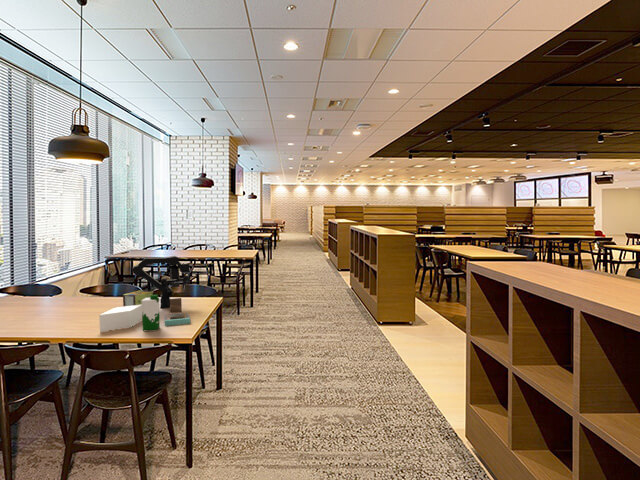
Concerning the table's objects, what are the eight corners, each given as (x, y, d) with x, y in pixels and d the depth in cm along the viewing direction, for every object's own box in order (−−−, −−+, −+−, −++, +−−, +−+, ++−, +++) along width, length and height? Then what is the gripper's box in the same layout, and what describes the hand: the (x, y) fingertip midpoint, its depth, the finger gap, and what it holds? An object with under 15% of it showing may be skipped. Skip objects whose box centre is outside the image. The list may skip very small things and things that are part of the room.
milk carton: (156, 331, 227) (155, 296, 225) (140, 331, 226) (139, 297, 224) (161, 326, 235) (160, 293, 234) (145, 326, 235) (144, 293, 233)
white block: (151, 321, 246) (151, 305, 246) (108, 334, 221) (107, 316, 220) (135, 318, 253) (135, 302, 252) (92, 330, 227) (91, 313, 227)
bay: (164, 319, 251) (164, 314, 250) (188, 317, 256) (188, 312, 256) (165, 325, 237) (164, 320, 237) (190, 323, 242) (190, 318, 242)
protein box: (153, 313, 264) (152, 290, 263) (136, 319, 250) (135, 295, 249) (141, 312, 268) (140, 289, 266) (123, 318, 253) (122, 294, 252)
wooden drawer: (169, 315, 261) (169, 298, 261) (182, 314, 264) (181, 297, 264) (170, 320, 248) (169, 303, 248) (183, 319, 252) (183, 302, 251)
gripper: (188, 277, 290) (190, 295, 281) (161, 280, 284) (162, 299, 275) (188, 269, 282) (190, 287, 273) (160, 271, 276) (161, 290, 267)
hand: (176, 291), depth 272 cm, fingers open, 9 cm apart
